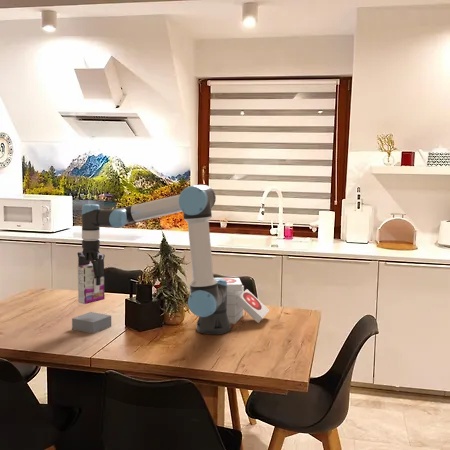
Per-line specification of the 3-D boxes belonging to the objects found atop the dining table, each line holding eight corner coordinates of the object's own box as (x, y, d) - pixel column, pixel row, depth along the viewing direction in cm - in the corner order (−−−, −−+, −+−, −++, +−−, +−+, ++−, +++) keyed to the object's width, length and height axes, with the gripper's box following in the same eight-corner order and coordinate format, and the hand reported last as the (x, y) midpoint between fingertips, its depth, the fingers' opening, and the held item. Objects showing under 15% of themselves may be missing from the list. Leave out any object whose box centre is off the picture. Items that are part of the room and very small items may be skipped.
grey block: (111, 326, 239) (111, 315, 238) (93, 333, 228) (93, 322, 228) (90, 322, 244) (90, 311, 244) (72, 329, 234) (72, 318, 233)
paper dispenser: (261, 327, 240) (262, 288, 238) (199, 321, 249) (199, 283, 247) (270, 316, 259) (271, 280, 257) (211, 310, 267) (212, 275, 265)
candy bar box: (97, 297, 241) (97, 262, 239) (104, 299, 238) (104, 263, 236) (77, 302, 232) (77, 265, 230) (84, 304, 229) (84, 267, 227)
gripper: (113, 240, 231) (113, 292, 234) (80, 236, 239) (81, 287, 242) (101, 242, 224) (102, 295, 227) (68, 238, 233) (69, 290, 235)
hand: (91, 291), depth 234 cm, fingers closed on candy bar box, 5 cm apart
